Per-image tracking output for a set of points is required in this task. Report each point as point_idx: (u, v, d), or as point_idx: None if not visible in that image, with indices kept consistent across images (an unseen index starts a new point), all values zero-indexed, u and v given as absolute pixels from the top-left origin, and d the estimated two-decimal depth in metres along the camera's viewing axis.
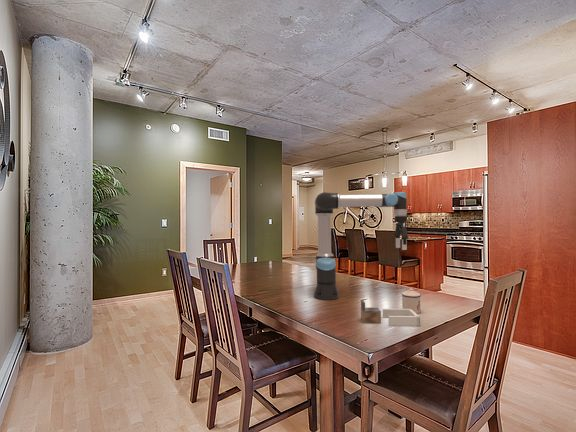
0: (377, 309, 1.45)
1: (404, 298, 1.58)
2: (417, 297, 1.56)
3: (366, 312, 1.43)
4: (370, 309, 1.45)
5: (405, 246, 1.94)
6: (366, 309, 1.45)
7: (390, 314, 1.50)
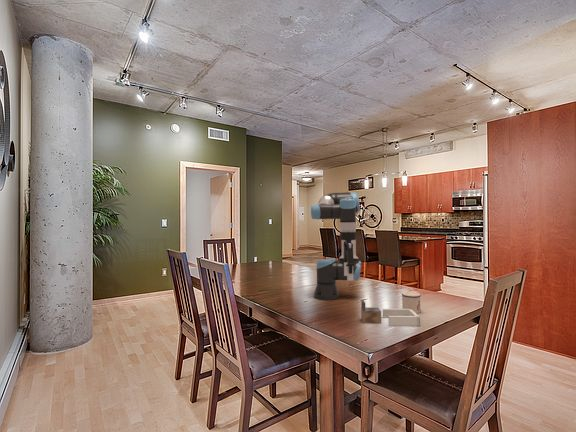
0: (377, 309, 1.45)
1: (404, 298, 1.58)
2: (417, 297, 1.56)
3: (366, 312, 1.43)
4: (370, 309, 1.45)
5: (351, 276, 1.40)
6: (366, 309, 1.45)
7: (390, 314, 1.50)
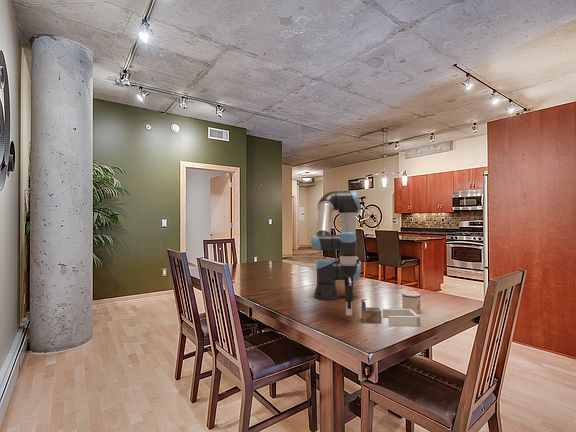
0: (378, 309, 1.45)
1: (404, 298, 1.58)
2: (417, 297, 1.56)
3: (367, 312, 1.43)
4: (371, 309, 1.45)
5: (350, 310, 1.45)
6: (367, 309, 1.45)
7: (390, 314, 1.50)
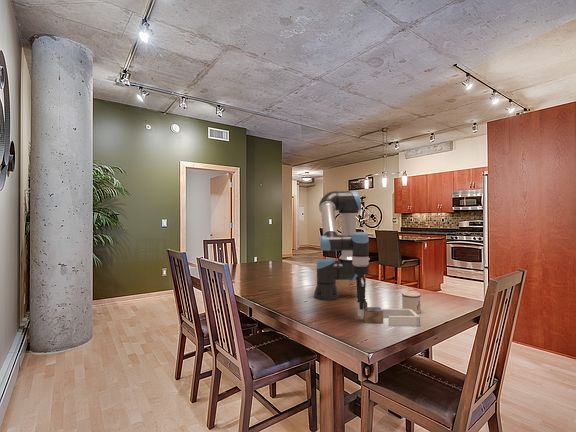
0: (379, 309, 1.45)
1: (404, 298, 1.58)
2: (417, 297, 1.56)
3: (368, 312, 1.43)
4: (372, 309, 1.45)
5: (362, 311, 1.45)
6: (368, 309, 1.45)
7: (390, 314, 1.50)
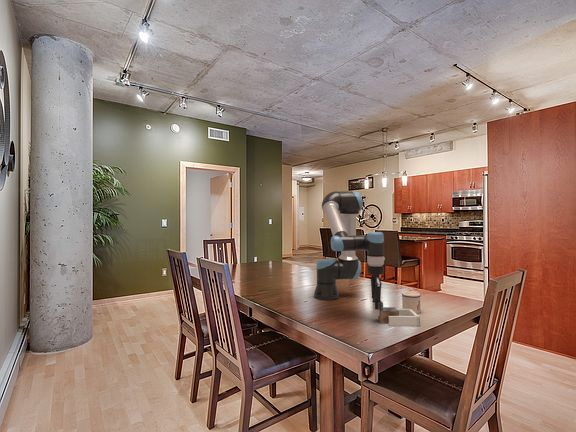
0: (395, 309, 1.45)
1: (404, 298, 1.58)
2: (417, 297, 1.56)
3: (384, 312, 1.42)
4: (388, 309, 1.45)
5: (377, 311, 1.44)
6: (384, 309, 1.45)
7: None
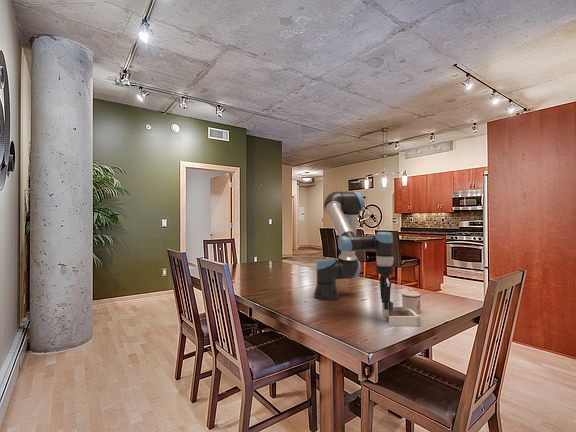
0: (403, 308, 1.45)
1: (404, 298, 1.58)
2: (417, 297, 1.56)
3: (395, 312, 1.42)
4: (397, 309, 1.45)
5: (387, 311, 1.44)
6: (393, 309, 1.45)
7: None
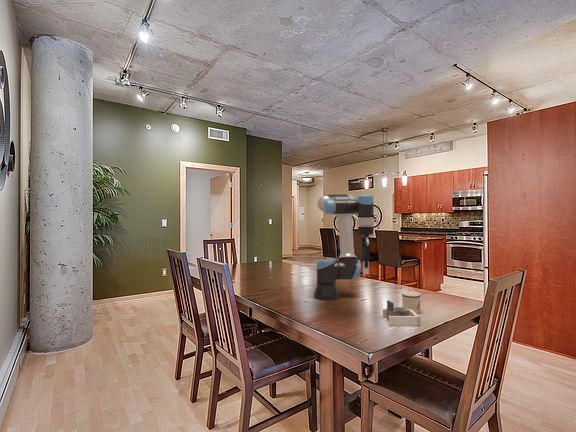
0: (404, 309, 1.45)
1: (404, 298, 1.58)
2: (417, 297, 1.56)
3: (395, 312, 1.42)
4: (397, 309, 1.45)
5: (367, 270, 1.52)
6: (393, 309, 1.45)
7: None
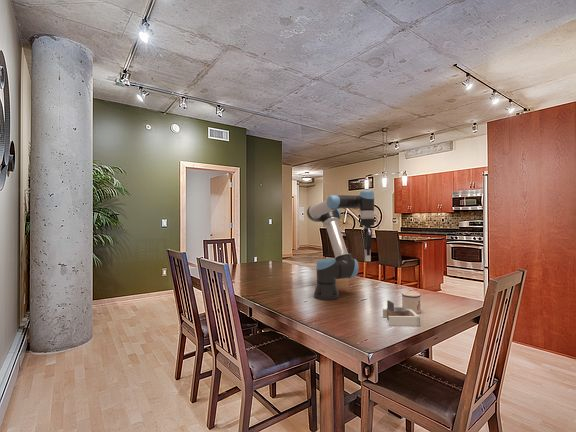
0: (404, 309, 1.45)
1: (404, 298, 1.58)
2: (417, 297, 1.56)
3: (395, 312, 1.42)
4: (397, 309, 1.45)
5: (369, 257, 1.71)
6: (394, 309, 1.45)
7: None
